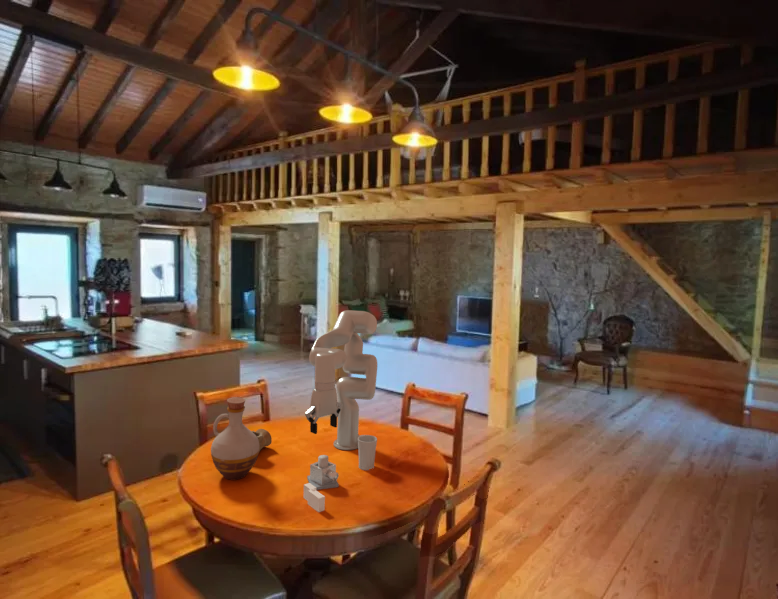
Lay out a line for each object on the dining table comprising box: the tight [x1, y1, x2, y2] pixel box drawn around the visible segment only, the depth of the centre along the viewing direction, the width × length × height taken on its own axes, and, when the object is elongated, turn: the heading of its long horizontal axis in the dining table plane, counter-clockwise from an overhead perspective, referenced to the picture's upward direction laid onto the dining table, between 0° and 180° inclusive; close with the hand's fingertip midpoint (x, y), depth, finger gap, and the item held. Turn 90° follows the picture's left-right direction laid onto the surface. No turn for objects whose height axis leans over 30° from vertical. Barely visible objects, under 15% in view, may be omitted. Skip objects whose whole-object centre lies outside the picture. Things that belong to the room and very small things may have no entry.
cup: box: [357, 434, 378, 471], centre depth 196 cm, size 8×8×12 cm
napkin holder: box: [303, 482, 326, 513], centre depth 166 cm, size 15×11×6 cm
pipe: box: [251, 428, 273, 452], centre depth 205 cm, size 9×16×10 cm, turn 170°
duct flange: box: [306, 454, 340, 491], centre depth 181 cm, size 10×10×10 cm
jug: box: [210, 396, 260, 481], centre depth 184 cm, size 20×18×30 cm
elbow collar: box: [309, 460, 339, 486], centre depth 180 cm, size 10×7×6 cm, turn 49°
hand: (323, 429), depth 180 cm, fingers open, 9 cm apart
